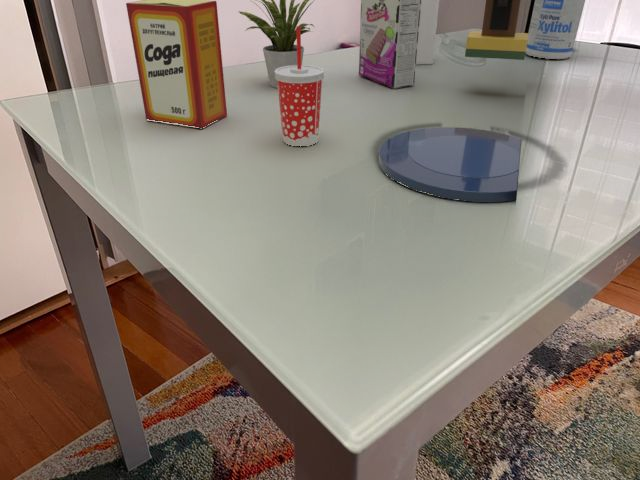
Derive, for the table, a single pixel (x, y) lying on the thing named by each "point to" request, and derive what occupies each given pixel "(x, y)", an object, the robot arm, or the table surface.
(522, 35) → the sponge
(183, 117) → the baking soda box
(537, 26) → the supplement tub
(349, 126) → the table surface
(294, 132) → the beverage cup
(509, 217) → the table surface
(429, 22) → the milk
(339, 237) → the table surface
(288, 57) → the house plant
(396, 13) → the candy bar box
